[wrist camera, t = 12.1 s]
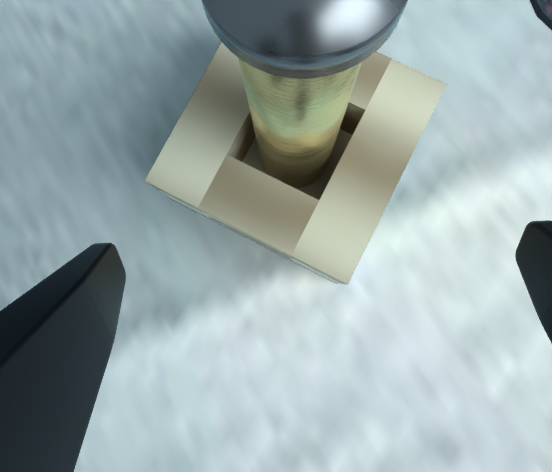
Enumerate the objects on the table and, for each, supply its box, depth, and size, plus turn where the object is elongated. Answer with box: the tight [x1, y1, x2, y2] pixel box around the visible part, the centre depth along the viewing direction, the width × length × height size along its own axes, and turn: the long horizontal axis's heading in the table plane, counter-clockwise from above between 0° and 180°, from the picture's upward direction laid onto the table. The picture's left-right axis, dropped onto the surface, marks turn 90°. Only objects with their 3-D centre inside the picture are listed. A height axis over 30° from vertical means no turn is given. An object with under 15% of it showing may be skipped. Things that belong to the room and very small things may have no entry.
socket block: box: [145, 42, 447, 284], centre depth 20 cm, size 10×10×4 cm
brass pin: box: [202, 0, 408, 188], centre depth 15 cm, size 5×5×13 cm
